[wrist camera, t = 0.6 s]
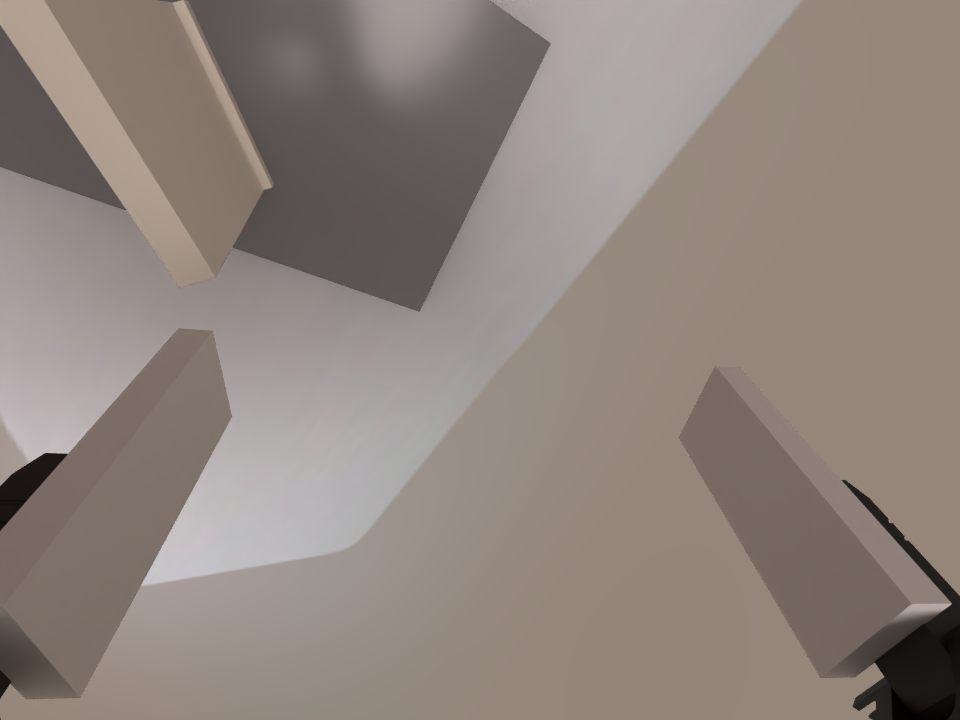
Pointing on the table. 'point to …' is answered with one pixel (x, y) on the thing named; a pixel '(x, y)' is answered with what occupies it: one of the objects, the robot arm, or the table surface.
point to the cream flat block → (144, 121)
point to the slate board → (334, 127)
